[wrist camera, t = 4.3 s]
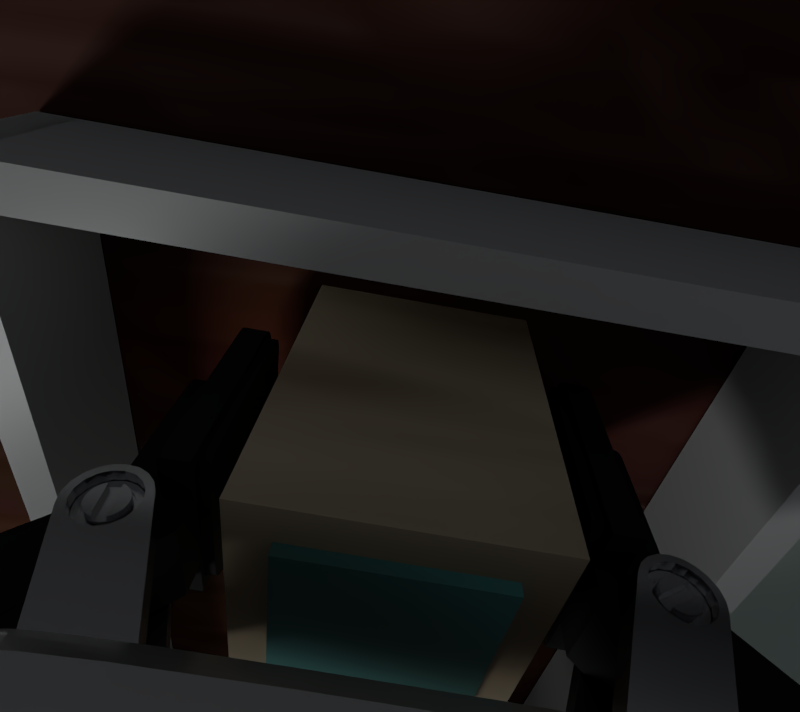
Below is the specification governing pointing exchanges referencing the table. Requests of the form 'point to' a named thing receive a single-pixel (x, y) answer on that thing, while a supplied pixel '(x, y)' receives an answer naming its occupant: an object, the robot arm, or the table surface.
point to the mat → (774, 615)
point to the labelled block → (401, 502)
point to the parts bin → (400, 265)
